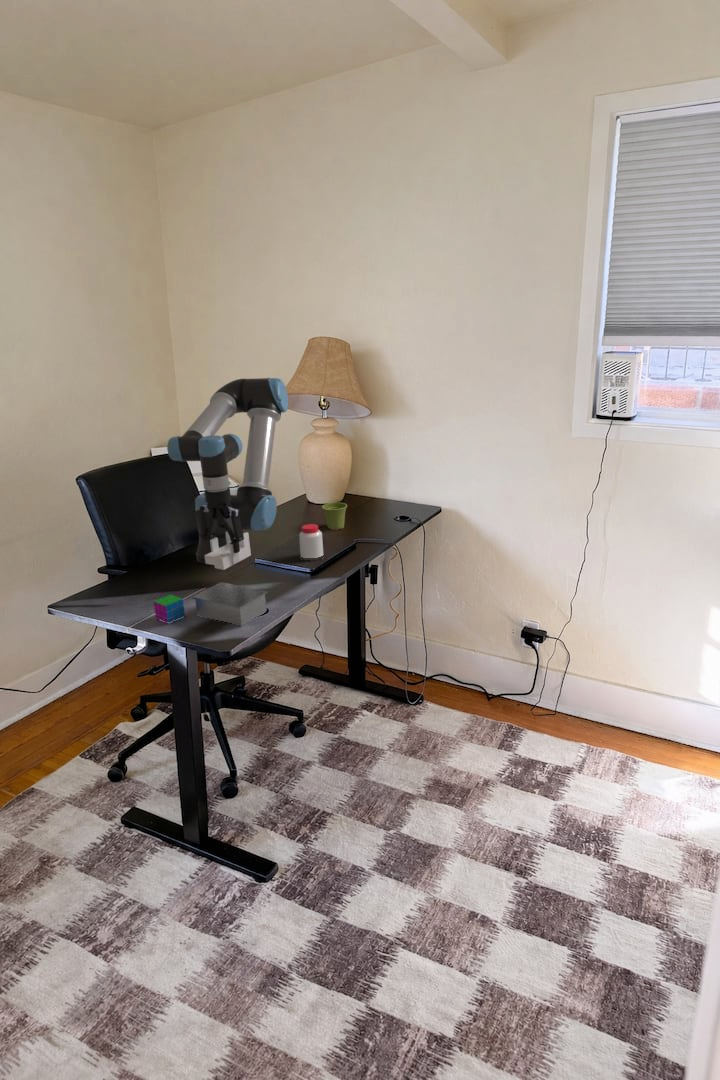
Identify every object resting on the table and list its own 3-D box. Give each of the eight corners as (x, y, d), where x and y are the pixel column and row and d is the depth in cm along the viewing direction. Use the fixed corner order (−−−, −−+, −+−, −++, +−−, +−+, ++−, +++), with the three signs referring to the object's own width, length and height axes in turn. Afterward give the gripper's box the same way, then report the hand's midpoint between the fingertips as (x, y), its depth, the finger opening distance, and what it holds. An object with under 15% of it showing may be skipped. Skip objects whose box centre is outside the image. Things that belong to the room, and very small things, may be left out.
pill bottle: (320, 561, 244) (318, 530, 240) (298, 561, 245) (295, 529, 242) (326, 553, 251) (324, 523, 247) (304, 553, 252) (302, 522, 249)
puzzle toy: (185, 617, 206) (182, 598, 204) (168, 625, 202) (165, 605, 200) (173, 613, 209) (170, 594, 208) (156, 619, 205) (153, 601, 204)
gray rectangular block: (194, 616, 206) (192, 597, 204) (222, 600, 216) (220, 582, 214) (242, 627, 198) (239, 607, 196) (269, 610, 207) (267, 591, 205)
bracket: (233, 552, 233) (230, 529, 230) (250, 555, 229) (248, 532, 227) (205, 566, 223) (202, 543, 220) (223, 569, 219) (220, 546, 216)
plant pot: (345, 531, 273) (344, 509, 270) (321, 531, 274) (319, 509, 272) (350, 524, 281) (349, 502, 279) (326, 524, 283) (324, 502, 280)
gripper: (183, 488, 219) (193, 559, 227) (235, 495, 209) (243, 569, 217) (200, 482, 225) (209, 551, 233) (251, 488, 215) (259, 560, 223)
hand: (225, 560), depth 225 cm, fingers closed on bracket, 7 cm apart
